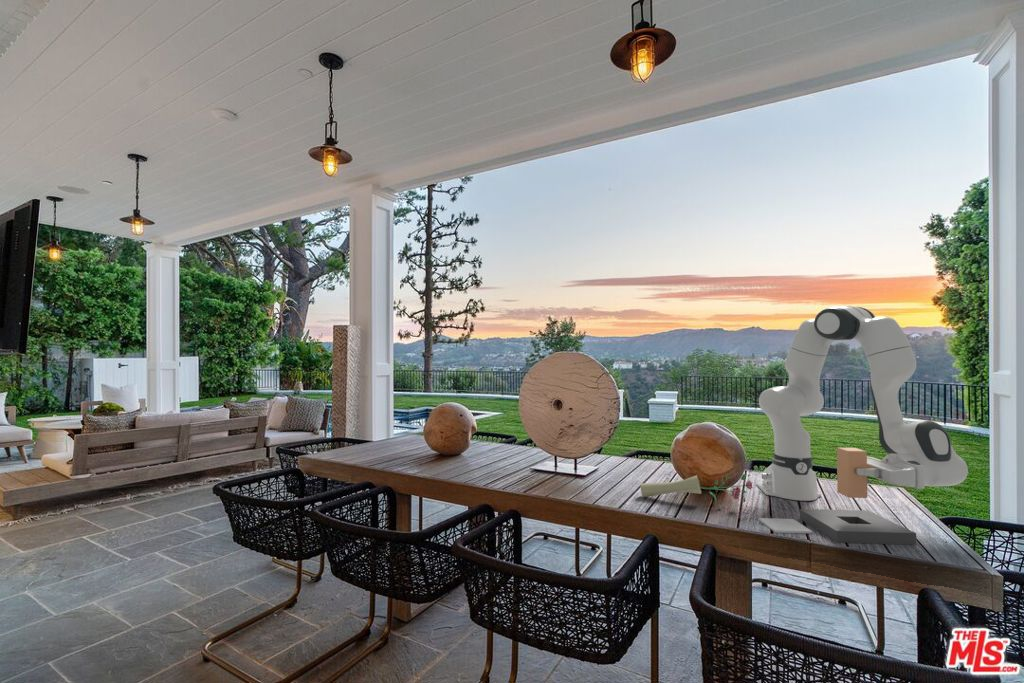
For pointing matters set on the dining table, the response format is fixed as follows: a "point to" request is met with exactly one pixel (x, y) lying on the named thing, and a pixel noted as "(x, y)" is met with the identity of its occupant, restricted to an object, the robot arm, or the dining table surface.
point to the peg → (851, 472)
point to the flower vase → (688, 487)
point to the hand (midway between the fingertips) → (848, 468)
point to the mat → (784, 525)
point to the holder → (857, 527)
